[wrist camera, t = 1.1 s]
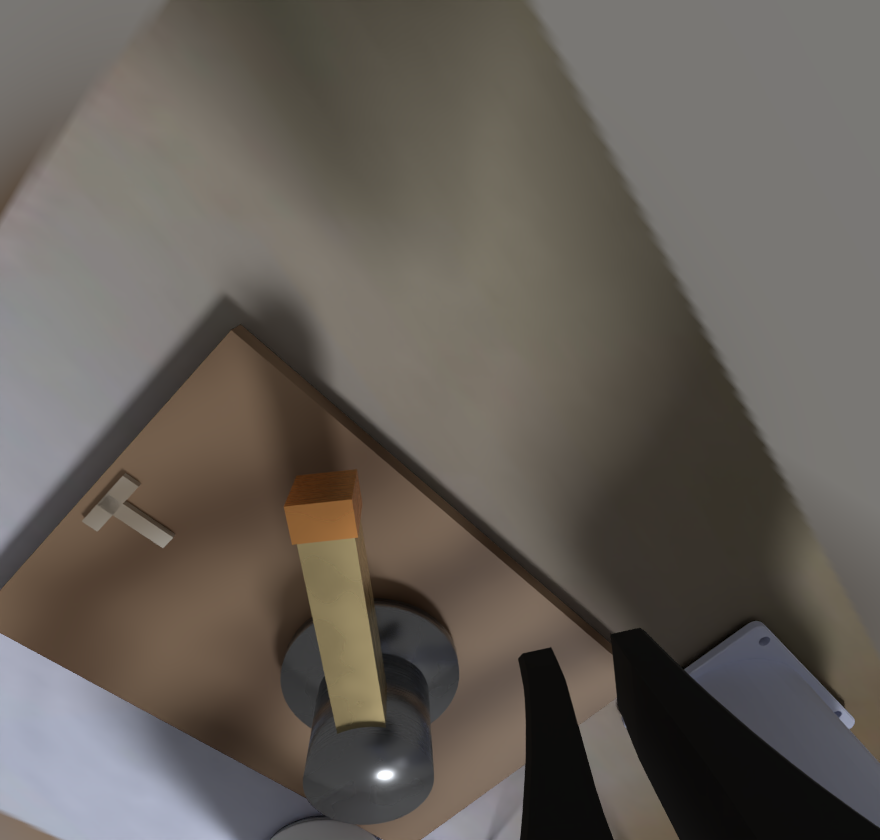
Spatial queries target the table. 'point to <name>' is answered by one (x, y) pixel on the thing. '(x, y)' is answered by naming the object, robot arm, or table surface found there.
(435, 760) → the stand
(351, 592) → the lever door handle
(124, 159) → the table surface
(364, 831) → the can
